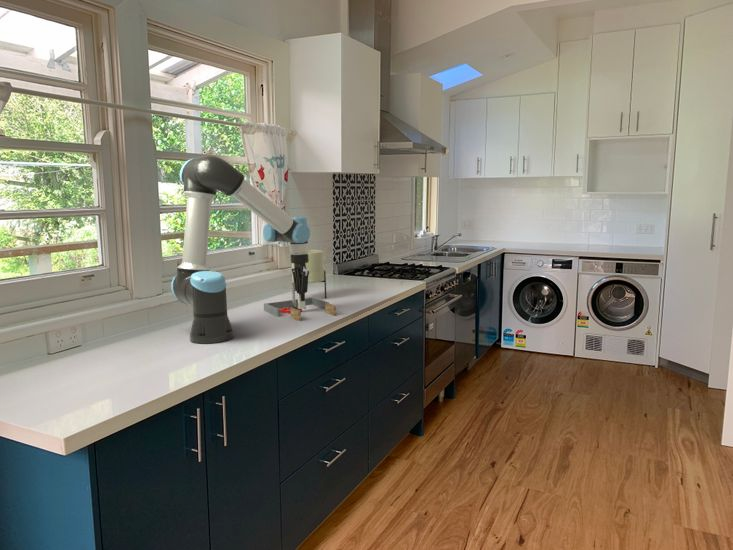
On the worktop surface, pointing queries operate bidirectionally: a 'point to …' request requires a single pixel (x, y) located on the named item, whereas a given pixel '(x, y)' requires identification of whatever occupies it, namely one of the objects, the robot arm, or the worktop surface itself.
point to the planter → (315, 267)
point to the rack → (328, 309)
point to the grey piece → (291, 305)
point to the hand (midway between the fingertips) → (301, 308)
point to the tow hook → (284, 310)
